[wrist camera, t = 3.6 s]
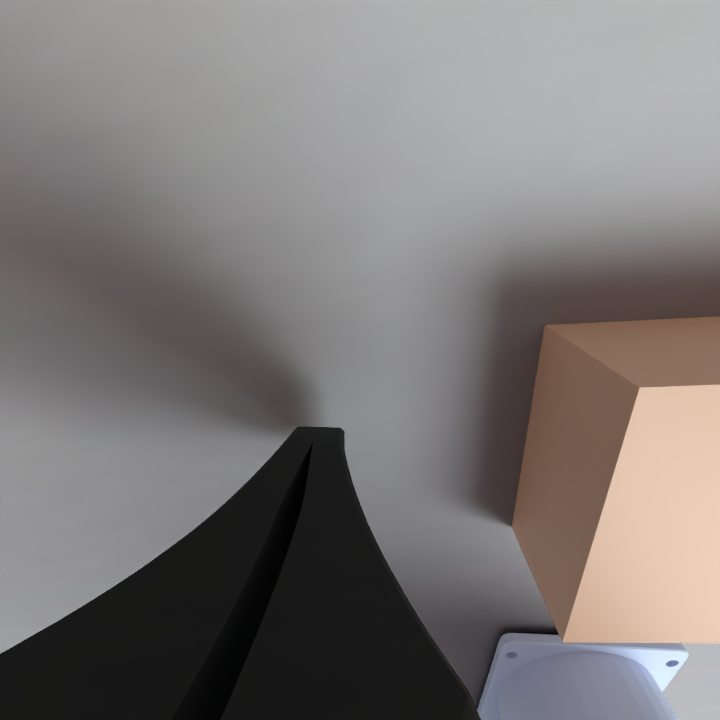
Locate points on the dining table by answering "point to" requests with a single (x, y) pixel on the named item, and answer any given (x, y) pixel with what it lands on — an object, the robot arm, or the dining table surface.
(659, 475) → the carton
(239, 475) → the dining table surface
